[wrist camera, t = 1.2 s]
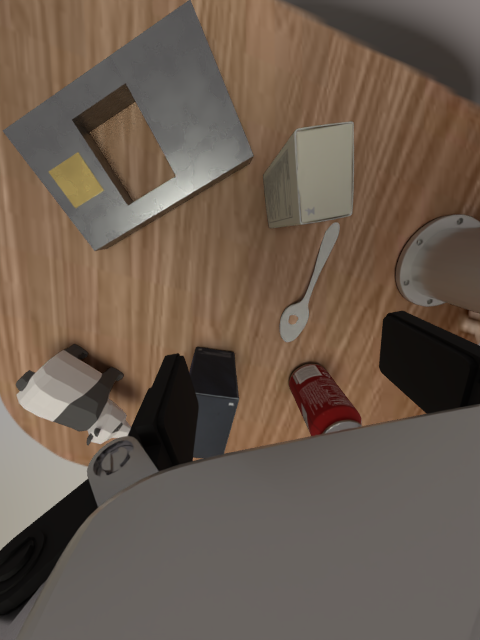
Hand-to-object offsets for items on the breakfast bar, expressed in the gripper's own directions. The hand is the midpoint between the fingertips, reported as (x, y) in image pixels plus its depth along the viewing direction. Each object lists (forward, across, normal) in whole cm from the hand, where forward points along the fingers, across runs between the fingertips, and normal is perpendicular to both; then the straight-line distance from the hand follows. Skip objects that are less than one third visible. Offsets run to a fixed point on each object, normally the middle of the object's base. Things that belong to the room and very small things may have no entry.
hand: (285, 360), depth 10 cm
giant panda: (+22, +24, +11) cm, 35 cm away
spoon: (+23, -10, +2) cm, 25 cm away
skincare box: (+22, -6, -8) cm, 24 cm away
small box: (+22, +8, +16) cm, 28 cm away
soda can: (+22, -8, +20) cm, 31 cm away
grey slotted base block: (+22, +8, -15) cm, 28 cm away
